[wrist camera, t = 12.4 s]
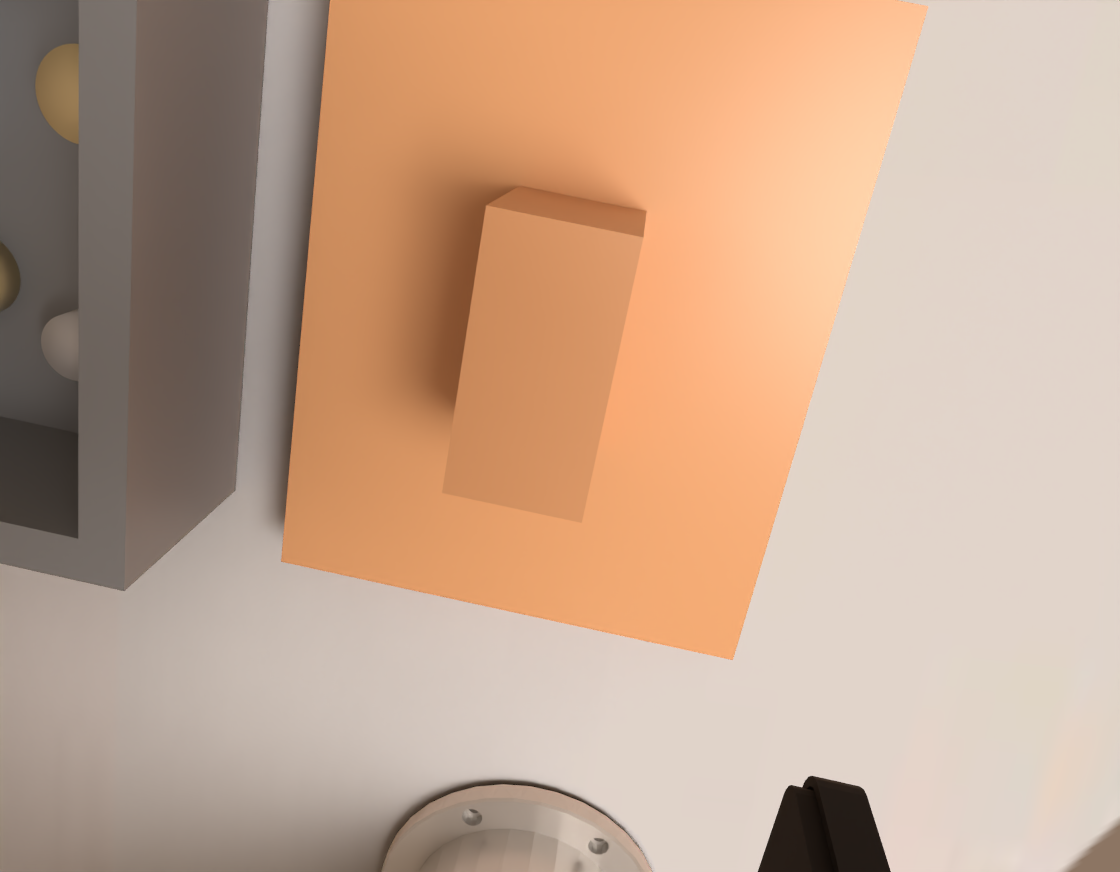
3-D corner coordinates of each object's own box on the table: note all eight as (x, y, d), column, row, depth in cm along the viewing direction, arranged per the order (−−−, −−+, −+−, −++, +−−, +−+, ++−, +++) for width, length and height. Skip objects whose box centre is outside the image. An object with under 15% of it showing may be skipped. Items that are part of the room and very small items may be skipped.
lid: (904, 15, 28) (1003, -22, 20) (727, 620, 36) (747, 772, 28) (367, -90, 29) (252, -166, 21) (307, 529, 36) (206, 651, 28)
